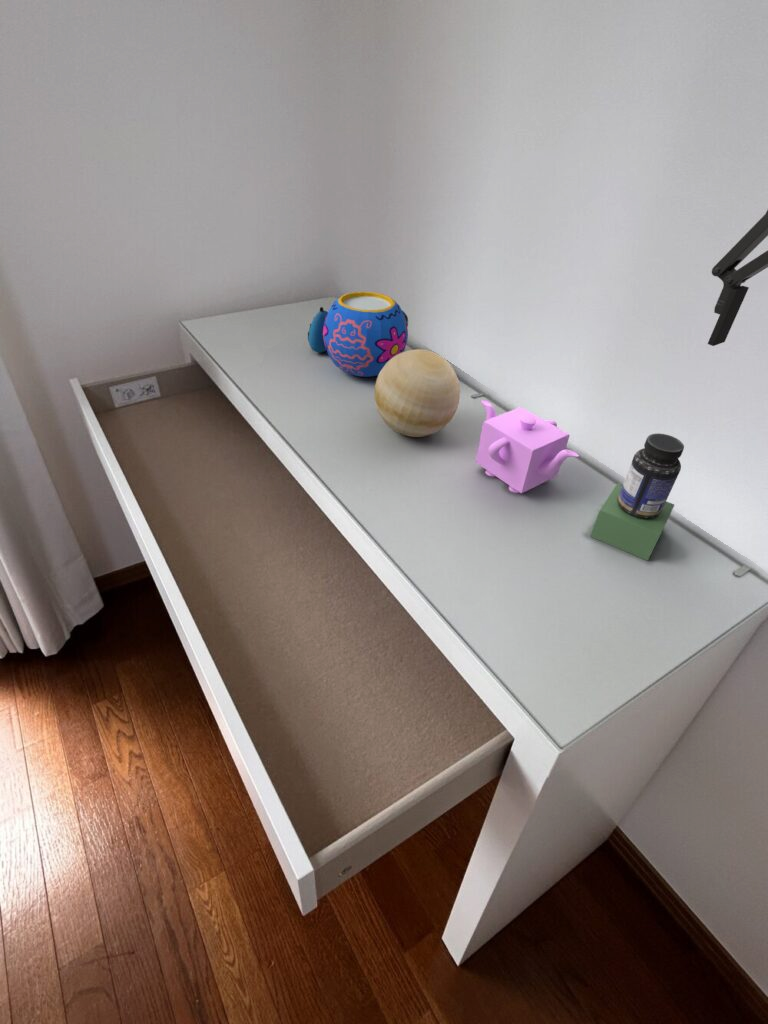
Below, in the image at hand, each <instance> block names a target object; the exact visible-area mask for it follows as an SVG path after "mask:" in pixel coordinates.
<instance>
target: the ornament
mask: <svg viewBox="0 0 768 1024" xmlns="http://www.w3.org/2000/svg"><path fill="white" fill-rule="evenodd" d="M327 313H328V311H327V310H325V309H324V307H323V306H320V308H319V311H318V312H317V313H316V314H315V316H314V317H313V318H312V321H311V323H309V329H308V332H307V341H308V345H309V347H310V349H311V350H312V351H313V352H315V353H317V354H318V353H324V352H327V349H326V347H325V343H324V338H323V328H324V322H325V318H326V316H327Z"/></svg>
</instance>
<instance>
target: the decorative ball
mask: <svg viewBox="0 0 768 1024" xmlns="http://www.w3.org/2000/svg"><path fill="white" fill-rule="evenodd" d="M460 398H461V386H460V380H459V378H458V376H457V372H456V371H455V369H454V367H453V366H452V365H451V364H450V362H448V361H447V359H445V357H443V356H442V355H440V354H438V353H435V352H434V351H431V350H428V349H421V348H420V349H419V348H418V349H409V350H404V352H402V353H400V354H398V355H396V356H394V357H393V358H392V359H391V360H389V361H388V362H387V363H386V364H385V366H384V367H383V368H382V370H381V371H380V373H379V375H377V377H376V380H375V385H374V403H375V407H376V410H377V412H378V414H379V416H380V417H381V419H382V421H383V422H384V423H385V424H386V425H387V426H388V427H389V428H391V429H392V430H393V431H395V432H396V433H399V434H401V435H404V436H408V437H411V438H412V437H413V438H421V437H422V438H423V437H427V436H430V435H434V434H435V433H437V432H439V431H441V430H442V429H443V428H444V427H446V426H447V424H449V422H451V421H452V420H453V418H454V416H455V414H456V412H457V410H458V407H459V405H460Z"/></svg>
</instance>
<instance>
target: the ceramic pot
mask: <svg viewBox="0 0 768 1024" xmlns="http://www.w3.org/2000/svg"><path fill="white" fill-rule="evenodd" d="M327 312H328V313H327V316H326V318H325V322H324V328H323V338H324V343H325V347H326V349H327V350H326V352H327V354H328V356H329V359H330V360H331V361H332V363H333V364H334V365H335V366H336V367H337V368H338V369H339V370H341V371H343V372H344V373H347V374H350V375H352V376H357V377H364V378H365V377H366V378H369V377H376V376H377V377H378V375H379V373H380V371H381V370H382V368H383V367H384V366H385V364H386V363H387V362H388V361H389V360H391V359H392V358H393V357H394V356H396V355H398V354H400V353H402V352H405V351H406V347H407V343H408V338H409V330H408V327H409V317H408V315H407V313H406V312H405V311H404V310H402V308H401V306H400V304H399V303H398V302H397V301H396V300H395V299H393V298H392V297H390V296H388V295H385V294H382V293H378V292H372V291H353V292H348V293H345V294H343V295H341V296H339V297H338V298H337V299H336V300H334V301H333V303H332V304H331V305H330V308H329V309H328V311H327Z"/></svg>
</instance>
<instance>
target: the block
mask: <svg viewBox="0 0 768 1024" xmlns="http://www.w3.org/2000/svg"><path fill="white" fill-rule="evenodd" d="M622 486H623V483H619V482H616V484H615V486H614V487H613V489H612V490H611V491H610V494H609V495H608V497H607V498H606V500H605V501H604V503H603V504H602V506H601V507H600V508H599V511H598V514H597V516H596V519H595V522H594V524H593V526H592V529H591V532H590V534H589V537H591V538H594V539H596V540H598V541H601V542H602V543H604V544H607V545H610V546H612V547H614V548H616V549H619V550H621V551H623V552H626V553H628V554H630V555H633V556H636V557H638V558H640V559H643V560H645V561H649V560H650V557H651V555H652V553H653V551H654V549H655V547H656V545H657V543H658V540H659V539H660V537H661V535H662V532H663V530H664V529H665V526H666V524H667V522H668V520H669V518H670V516H671V514H672V511H673V509H674V507H675V504H674V503H672V502H670V501H667V500H666V503H665V505H664V507H663V509H662V511H661V513H660V514H659V515H658V516H657V517H655V518H652V519H643V518H638V517H634V516H632V515H629V514H627V513H626V512H624V511H623V510H622V509H621V508H620V507H619V505H618V502H617V498H618V496H619V493H620V491H621V488H622Z"/></svg>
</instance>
